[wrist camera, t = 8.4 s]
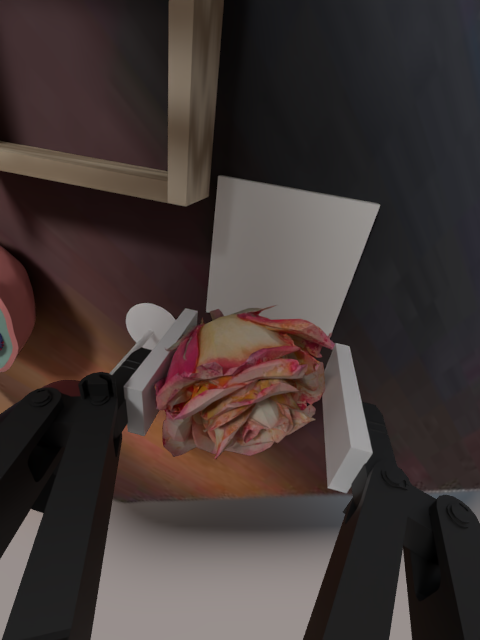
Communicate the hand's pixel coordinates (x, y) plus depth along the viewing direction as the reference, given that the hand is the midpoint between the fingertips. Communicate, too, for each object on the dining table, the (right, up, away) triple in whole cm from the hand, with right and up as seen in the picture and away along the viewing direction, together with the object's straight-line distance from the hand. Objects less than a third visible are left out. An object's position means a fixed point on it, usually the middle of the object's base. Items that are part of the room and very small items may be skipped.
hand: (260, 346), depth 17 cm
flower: (0, 0, 0) cm, 1 cm away
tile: (+3, +7, +12) cm, 15 cm away
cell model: (-32, +8, +21) cm, 39 cm away
